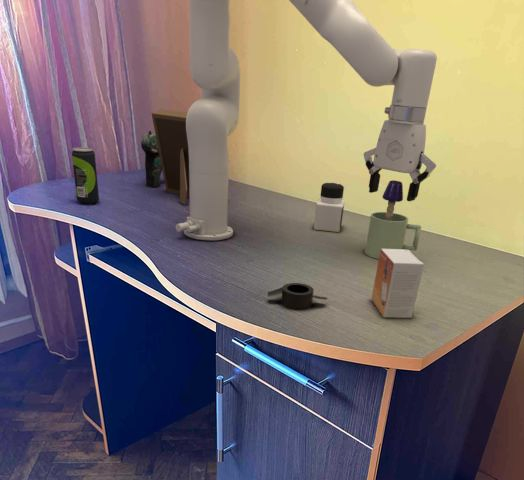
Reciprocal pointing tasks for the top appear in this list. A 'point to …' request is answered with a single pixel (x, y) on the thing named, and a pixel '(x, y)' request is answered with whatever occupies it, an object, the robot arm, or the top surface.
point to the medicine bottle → (329, 208)
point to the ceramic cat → (151, 159)
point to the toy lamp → (392, 197)
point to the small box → (396, 283)
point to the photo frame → (173, 150)
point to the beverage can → (85, 175)
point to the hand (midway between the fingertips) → (391, 196)
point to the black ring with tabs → (295, 295)
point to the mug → (389, 234)
